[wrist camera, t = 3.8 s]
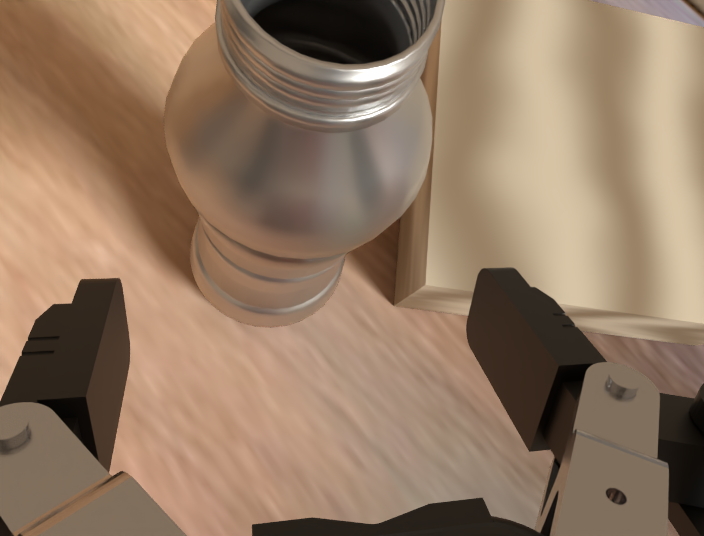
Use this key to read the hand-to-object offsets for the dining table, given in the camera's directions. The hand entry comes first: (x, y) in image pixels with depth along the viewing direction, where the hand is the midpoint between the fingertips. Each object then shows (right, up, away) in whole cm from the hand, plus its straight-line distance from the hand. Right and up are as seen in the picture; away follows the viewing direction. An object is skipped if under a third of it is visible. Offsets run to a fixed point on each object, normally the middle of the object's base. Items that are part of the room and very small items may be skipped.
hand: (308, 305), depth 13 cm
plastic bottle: (-3, +1, +15) cm, 16 cm away
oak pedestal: (+12, +6, +19) cm, 24 cm away
